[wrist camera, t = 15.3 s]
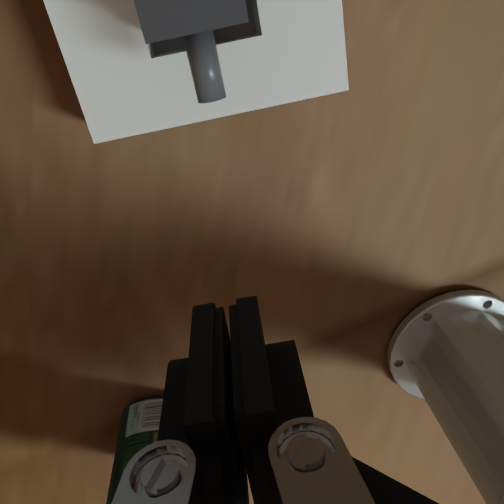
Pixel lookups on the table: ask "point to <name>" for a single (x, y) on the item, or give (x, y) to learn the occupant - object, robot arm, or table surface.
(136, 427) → the coffee jar
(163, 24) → the plug
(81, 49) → the socket
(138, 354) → the table surface
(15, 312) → the table surface
